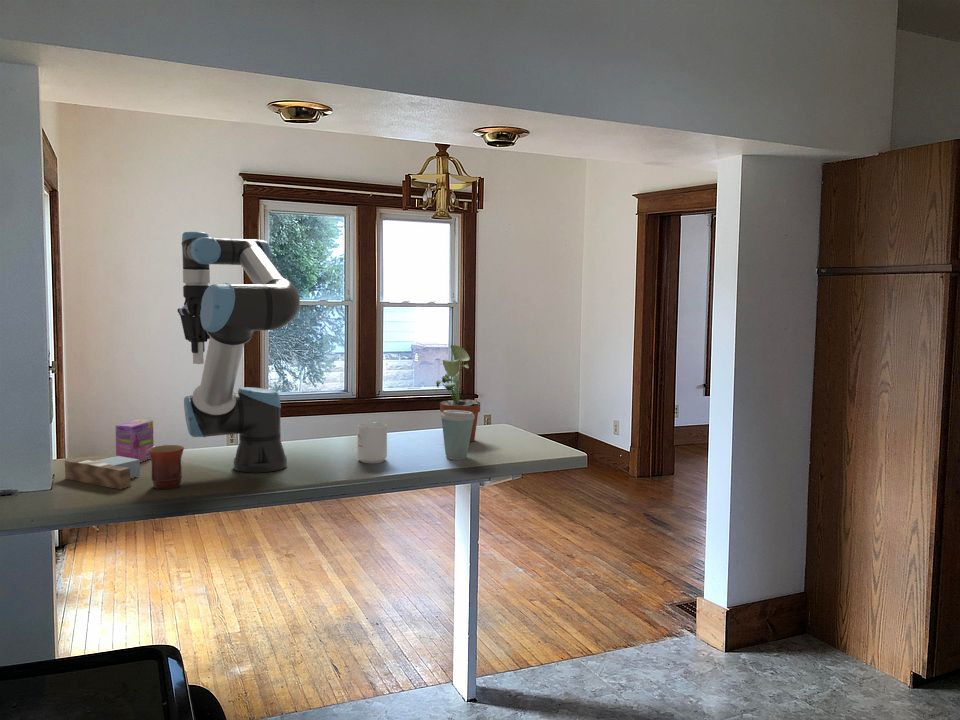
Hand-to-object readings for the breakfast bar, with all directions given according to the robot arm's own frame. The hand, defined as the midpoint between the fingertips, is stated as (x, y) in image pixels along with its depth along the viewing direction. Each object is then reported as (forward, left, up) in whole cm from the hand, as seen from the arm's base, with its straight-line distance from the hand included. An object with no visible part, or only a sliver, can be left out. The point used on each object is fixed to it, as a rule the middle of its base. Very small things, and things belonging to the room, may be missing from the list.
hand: (198, 363), depth 233 cm
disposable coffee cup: (-66, -42, -30) cm, 84 cm away
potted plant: (-54, -65, -30) cm, 90 cm away
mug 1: (-15, +25, -30) cm, 42 cm away
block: (+4, +27, -30) cm, 40 cm away
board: (+3, +33, -29) cm, 44 cm away
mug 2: (-44, -26, -30) cm, 59 cm away
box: (+15, +11, -30) cm, 35 cm away
